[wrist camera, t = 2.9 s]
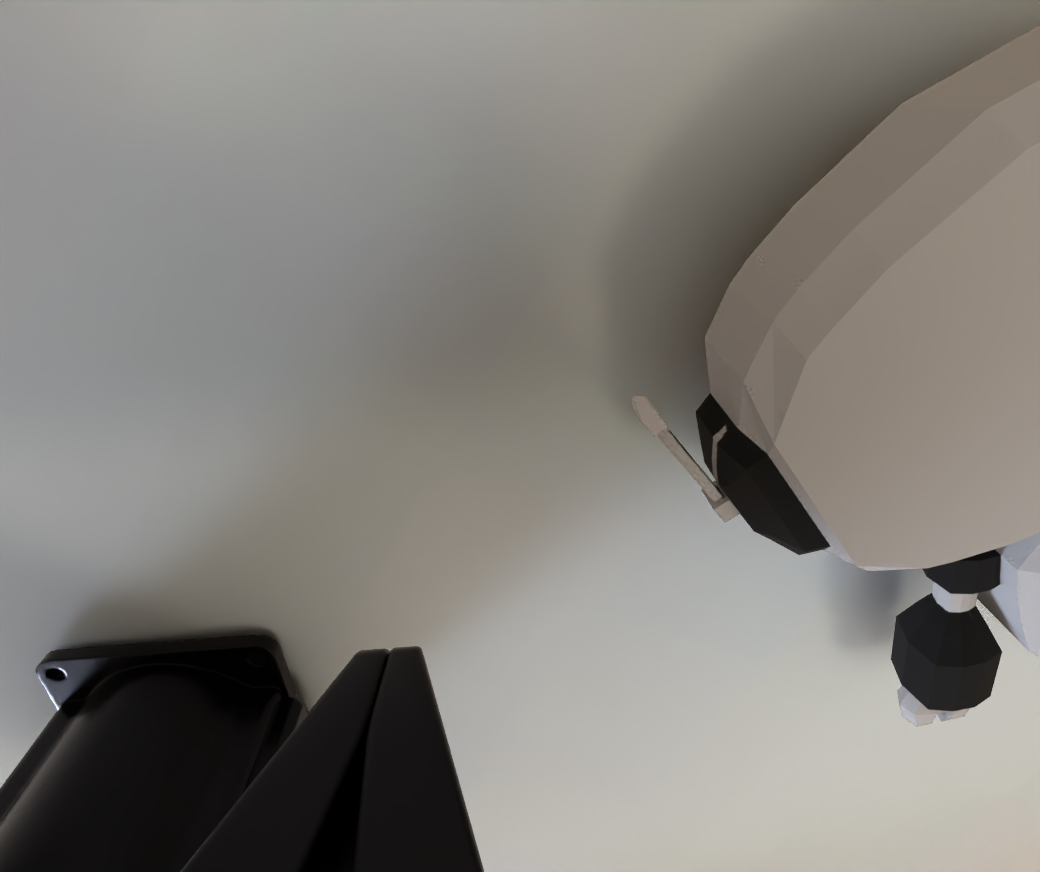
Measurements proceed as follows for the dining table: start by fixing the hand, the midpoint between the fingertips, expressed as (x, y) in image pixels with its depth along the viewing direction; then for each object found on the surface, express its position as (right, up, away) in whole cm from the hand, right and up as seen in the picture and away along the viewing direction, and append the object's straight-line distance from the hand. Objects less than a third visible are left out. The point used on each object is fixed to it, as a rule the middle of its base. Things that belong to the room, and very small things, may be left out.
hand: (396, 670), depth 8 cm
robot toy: (+12, +4, +6) cm, 15 cm away
